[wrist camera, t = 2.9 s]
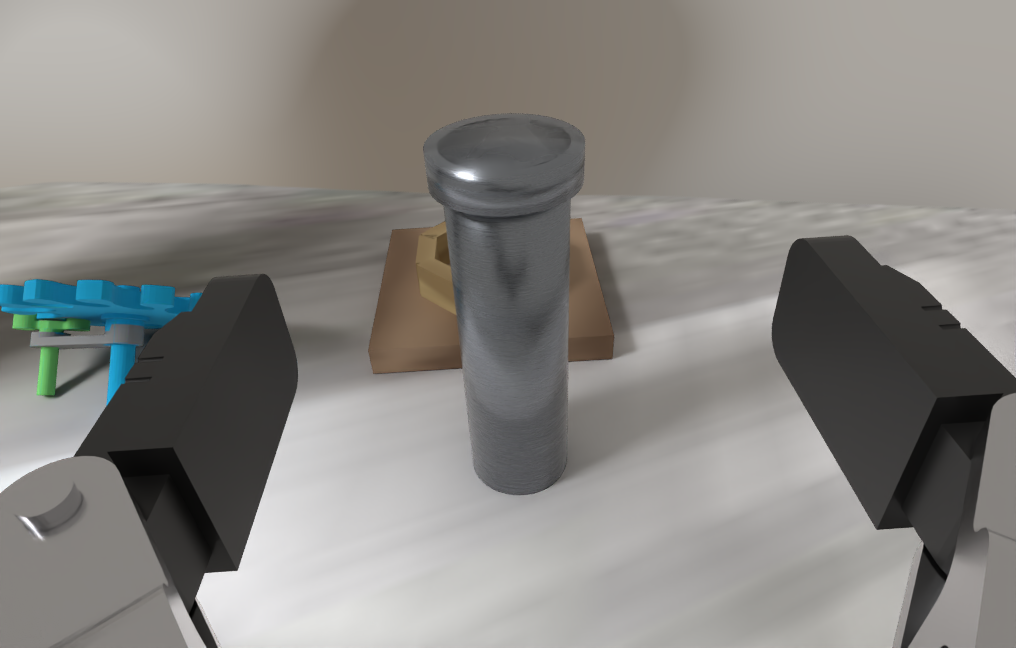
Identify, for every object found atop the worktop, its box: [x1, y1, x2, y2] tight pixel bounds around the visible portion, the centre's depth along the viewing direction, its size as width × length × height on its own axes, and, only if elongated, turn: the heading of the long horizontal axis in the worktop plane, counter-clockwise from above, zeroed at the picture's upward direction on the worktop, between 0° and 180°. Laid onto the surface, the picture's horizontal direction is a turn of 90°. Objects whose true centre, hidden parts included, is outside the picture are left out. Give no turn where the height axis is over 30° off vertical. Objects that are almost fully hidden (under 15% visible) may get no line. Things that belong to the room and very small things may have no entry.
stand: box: [368, 218, 614, 374], centre depth 36 cm, size 12×12×4 cm
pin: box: [423, 113, 585, 495], centre depth 24 cm, size 5×5×14 cm
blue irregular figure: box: [0, 279, 202, 405], centre depth 32 cm, size 11×6×10 cm
